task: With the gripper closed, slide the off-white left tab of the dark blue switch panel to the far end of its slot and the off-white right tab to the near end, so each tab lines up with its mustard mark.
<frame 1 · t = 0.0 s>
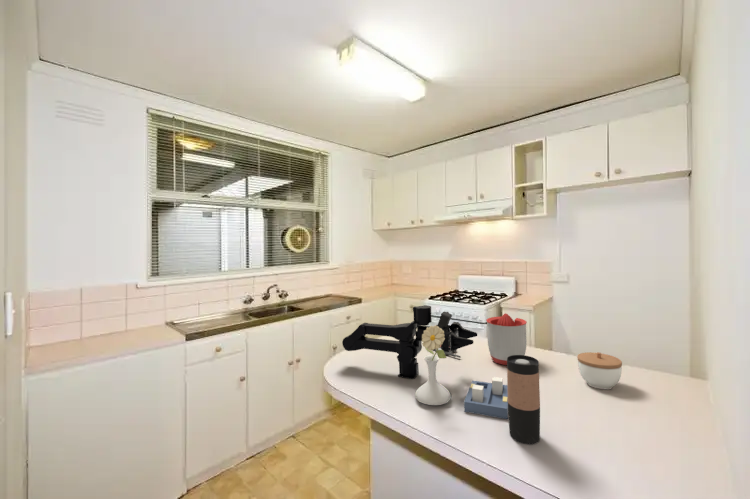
hand: (475, 338, 117), 17 cm above the countertop, tool horizontal, fingers open, 9 cm apart
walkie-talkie: (446, 353, 152), on the countertop
travel mug: (524, 436, 86), on the countertop
left tab: (478, 394, 102), point 4 cm above the countertop, slide at 8.0 cm
switch panel: (488, 402, 104), on the countertop
right tab: (497, 386, 107), point 4 cm above the countertop, slide at 0.0 cm
lidded bowl: (599, 385, 113), on the countertop
flower in vase: (434, 402, 106), on the countertop
citrus juicer: (507, 360, 139), on the countertop
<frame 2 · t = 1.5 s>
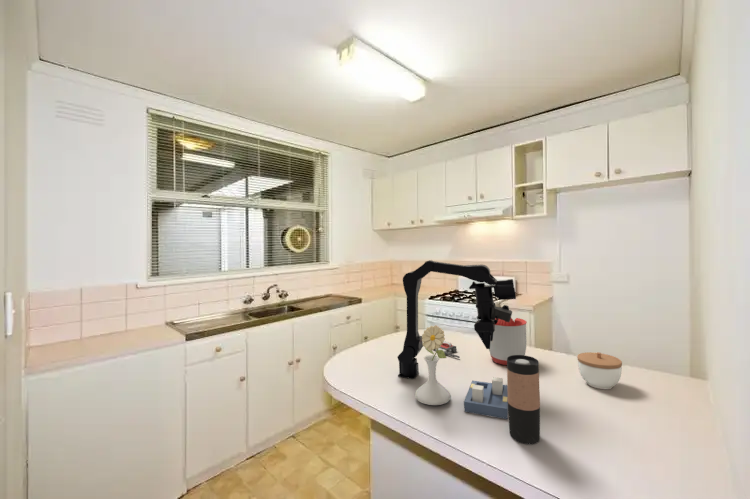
hand: (489, 344, 116), 14 cm above the countertop, tool pointing down, fingers open, 9 cm apart
nothing on the countertop moved.
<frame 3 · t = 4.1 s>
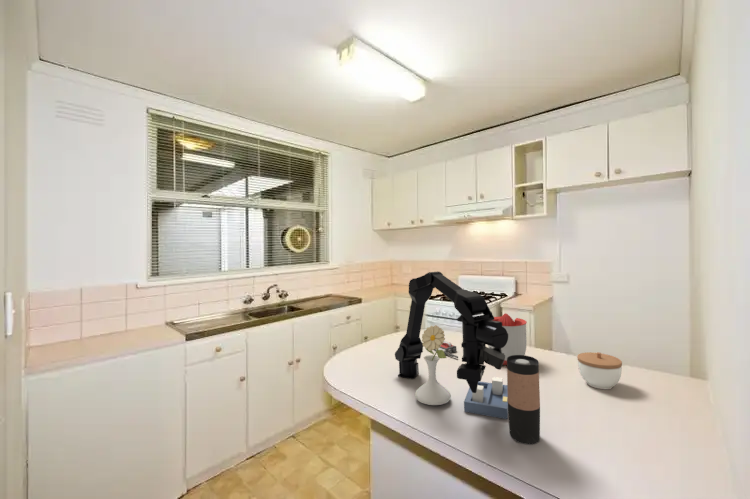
hand: (474, 392, 96), 7 cm above the countertop, tool pointing down, fingers closed
nothing on the countertop moved.
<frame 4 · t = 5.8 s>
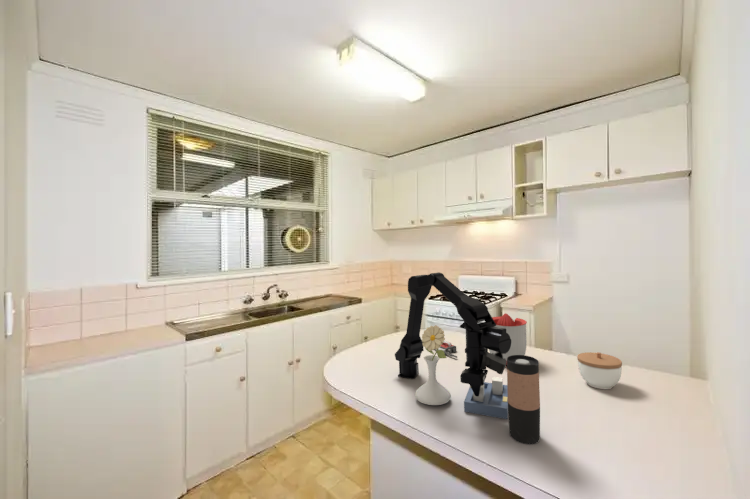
hand: (477, 395, 101), 4 cm above the countertop, tool pointing down, fingers closed
left tab: (478, 392, 103), point 4 cm above the countertop, slide at 6.3 cm, touching gripper
everything else where it was.
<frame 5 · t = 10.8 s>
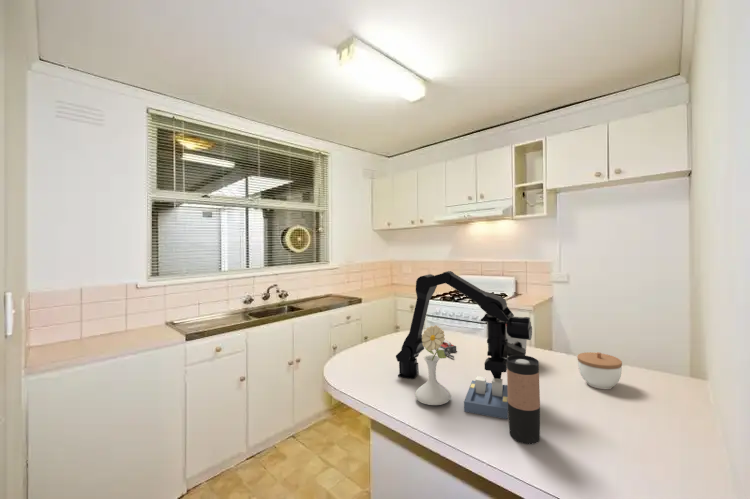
hand: (498, 382, 109), 4 cm above the countertop, tool pointing down, fingers closed
left tab: (480, 385, 108), point 4 cm above the countertop, slide at 1.2 cm
right tab: (497, 387, 106), point 4 cm above the countertop, slide at 0.9 cm, touching gripper
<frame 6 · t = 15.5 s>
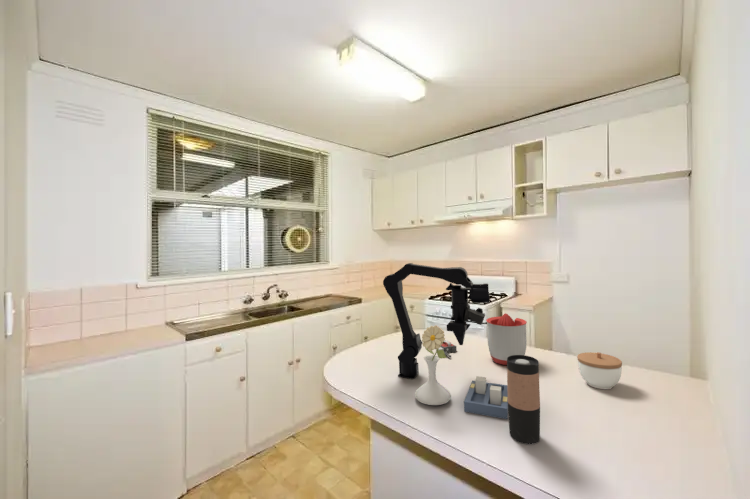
hand: (461, 344, 121), 13 cm above the countertop, tool pointing down, fingers closed
right tab: (495, 395, 101), point 4 cm above the countertop, slide at 6.8 cm
at the end: left tab slide at 1.2 cm; right tab slide at 6.8 cm; flower in vase moved 0.2 cm from its start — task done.
